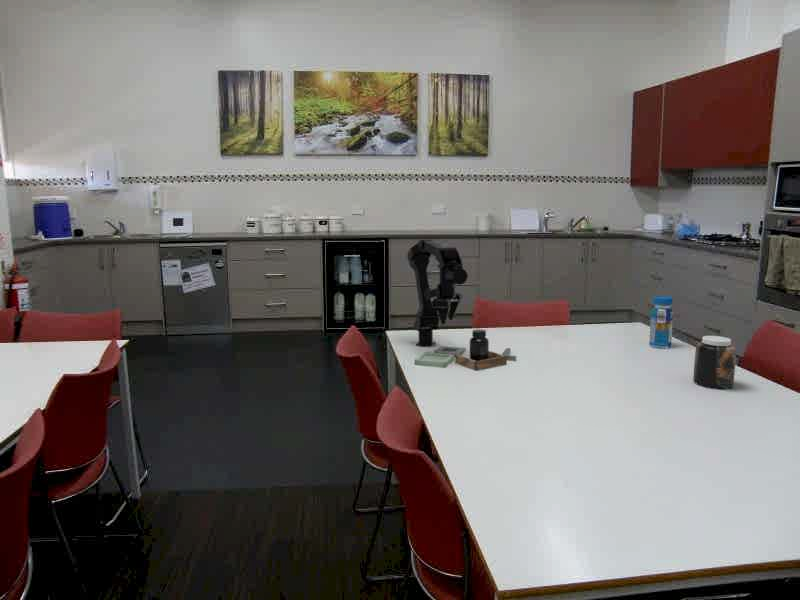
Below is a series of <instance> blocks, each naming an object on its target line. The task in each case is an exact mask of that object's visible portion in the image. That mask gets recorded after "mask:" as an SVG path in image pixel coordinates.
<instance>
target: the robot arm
mask: <svg viewBox="0 0 800 600" xmlns="http://www.w3.org/2000/svg"><path fill="white" fill-rule="evenodd" d="M406 255H407V260H408V262H409V266H410V268H411V269H412V271H414V276H415V284H416V288H417V289H416V290H417V296H418V303H419V307H418V310H417V311H416V319H415V320H414V322H413V324H412V325H413V326H412V327H413V330H415V331H416V332H418V342H417V343H415V346H419V347H420V346H422V347H432V346H434V345H435V344H436V341H433V338H434V337H433V332H434V330H439V329H438V328H439V323H440V322H441V325H446V322H447V319H449V320H451V321H452V320H453V319H454V316H455V314H456V312H457V310H458V308H459V306H460V303H461V301H462V300H463V299H462V298H463V295H462V293H461V292H460V291H459V292H456V287H457V285H463V284H465V283H466V281H467V279H468V273H467V271H466V270H465V269H464V267H463V261H462V258H461V256H460V254H459V251H458V249H457V248H456V247H455V246H443V245H441V244H440V243H437V242H435V241H433V240H432V239H427V238H426V239H425V238H424V239H420V240H418V242H417V243H415V245H413V246H412V247H410V249H409V250H408V252H407V254H406ZM431 256H433V257H435V261H437V262H438V265H437V268H438V269H439V283H438V284H436V287H435V288H431V287H430V284H429V279H428V271H427V269H428V267H429V264H430V258H431ZM433 298H434V299H433ZM449 320H448V321H449Z"/></svg>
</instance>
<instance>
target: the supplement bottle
mask: <svg viewBox="0 0 800 600" xmlns="http://www.w3.org/2000/svg"><path fill="white" fill-rule="evenodd" d="M471 333H472V335H471V336H472V337H471V338H470V339H469V359H472V360H475V361H480V360H485V359H489V351H490V350H489V345H490V343H489V339H488V338H487V337H486V336H487V331H486V330H484V329H474V330H472V332H471Z"/></svg>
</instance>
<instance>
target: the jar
mask: <svg viewBox="0 0 800 600" xmlns="http://www.w3.org/2000/svg"><path fill="white" fill-rule="evenodd" d="M701 338H702V339H701V341H699V342H697V343H696V345H695V353H694V363H693V364H694V366H693V376H692V377H693V378H692V381H694V382H695V383H697V384H699V385H698V386H700V385H702V386H701V387H703V386H704V387H703V388H707V387H710V388H709V389H713V388H729V387H732V386H733V387H734V384H735V372H736V360H737V348H736V346H735V345H733V344H732V339H731V338H729V337H725V336H719V335H703V336H702V337H701ZM694 382H693V383H694ZM695 383H694V384H695ZM697 384H696V385H697ZM733 387H732V388H733Z"/></svg>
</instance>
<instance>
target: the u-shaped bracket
mask: <svg viewBox="0 0 800 600" xmlns="http://www.w3.org/2000/svg"><path fill="white" fill-rule="evenodd" d="M501 354H502V353H497V352H494V351H491V350H489V359H485V360H480V361H475V360H472V359H470V357H466V356H463V355H458V354H457V355H455V358H454V363H455V364H458V365H460V366H463V367H466V368H469V369H471V370H473V369H474V371H476V370H477V371H480V369H482V370H485V369H491V368H496V367H499V366H501V367H502V366H505V365H507V363H508V362H507V361H508V360H507V356H504V355H501Z"/></svg>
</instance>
